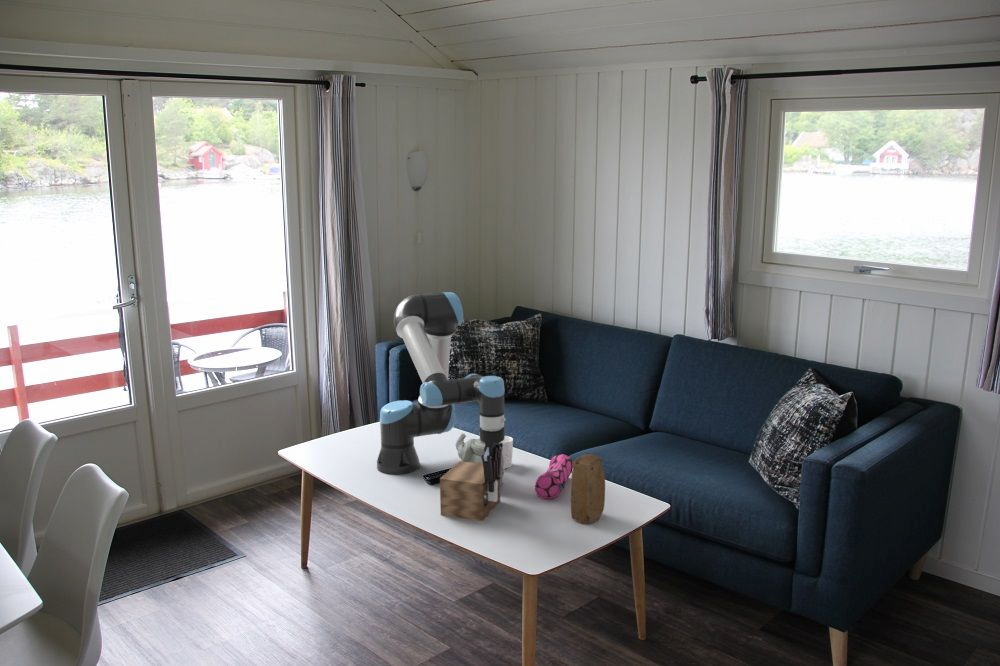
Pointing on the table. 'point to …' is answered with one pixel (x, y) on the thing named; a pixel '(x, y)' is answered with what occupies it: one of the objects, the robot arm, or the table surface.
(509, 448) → the white cup
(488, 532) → the table surface
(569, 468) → the pencil case
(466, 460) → the teapot
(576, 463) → the block
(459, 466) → the walnut block
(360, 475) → the table surface
